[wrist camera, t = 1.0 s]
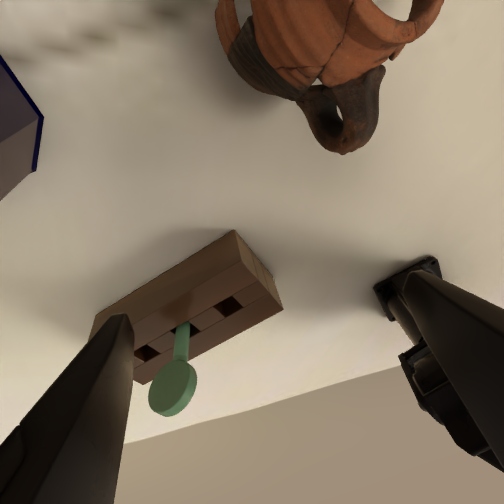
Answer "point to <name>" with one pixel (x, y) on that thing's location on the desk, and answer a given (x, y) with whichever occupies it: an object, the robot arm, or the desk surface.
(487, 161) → the desk surface
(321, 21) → the pottery mug
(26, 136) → the bottle
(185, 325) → the spoon
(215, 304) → the holder
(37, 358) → the desk surface
